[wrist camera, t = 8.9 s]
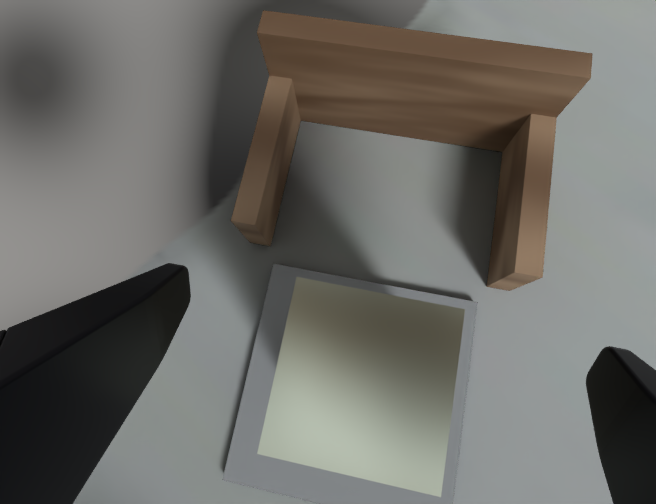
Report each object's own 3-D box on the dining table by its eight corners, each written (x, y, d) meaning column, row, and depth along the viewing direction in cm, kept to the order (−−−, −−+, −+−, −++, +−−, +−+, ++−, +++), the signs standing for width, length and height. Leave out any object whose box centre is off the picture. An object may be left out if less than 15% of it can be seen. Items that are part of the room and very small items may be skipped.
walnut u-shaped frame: (509, 290, 23) (577, 262, 16) (250, 242, 24) (210, 198, 17) (525, 136, 25) (592, 53, 18) (285, 100, 26) (263, 10, 19)
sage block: (398, 430, 21) (441, 497, 11) (299, 408, 21) (256, 454, 12) (414, 329, 22) (465, 309, 12) (319, 310, 22) (296, 276, 13)
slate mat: (446, 530, 20) (449, 535, 20) (225, 477, 21) (222, 480, 21) (474, 303, 23) (477, 302, 22) (275, 265, 24) (273, 263, 23)
